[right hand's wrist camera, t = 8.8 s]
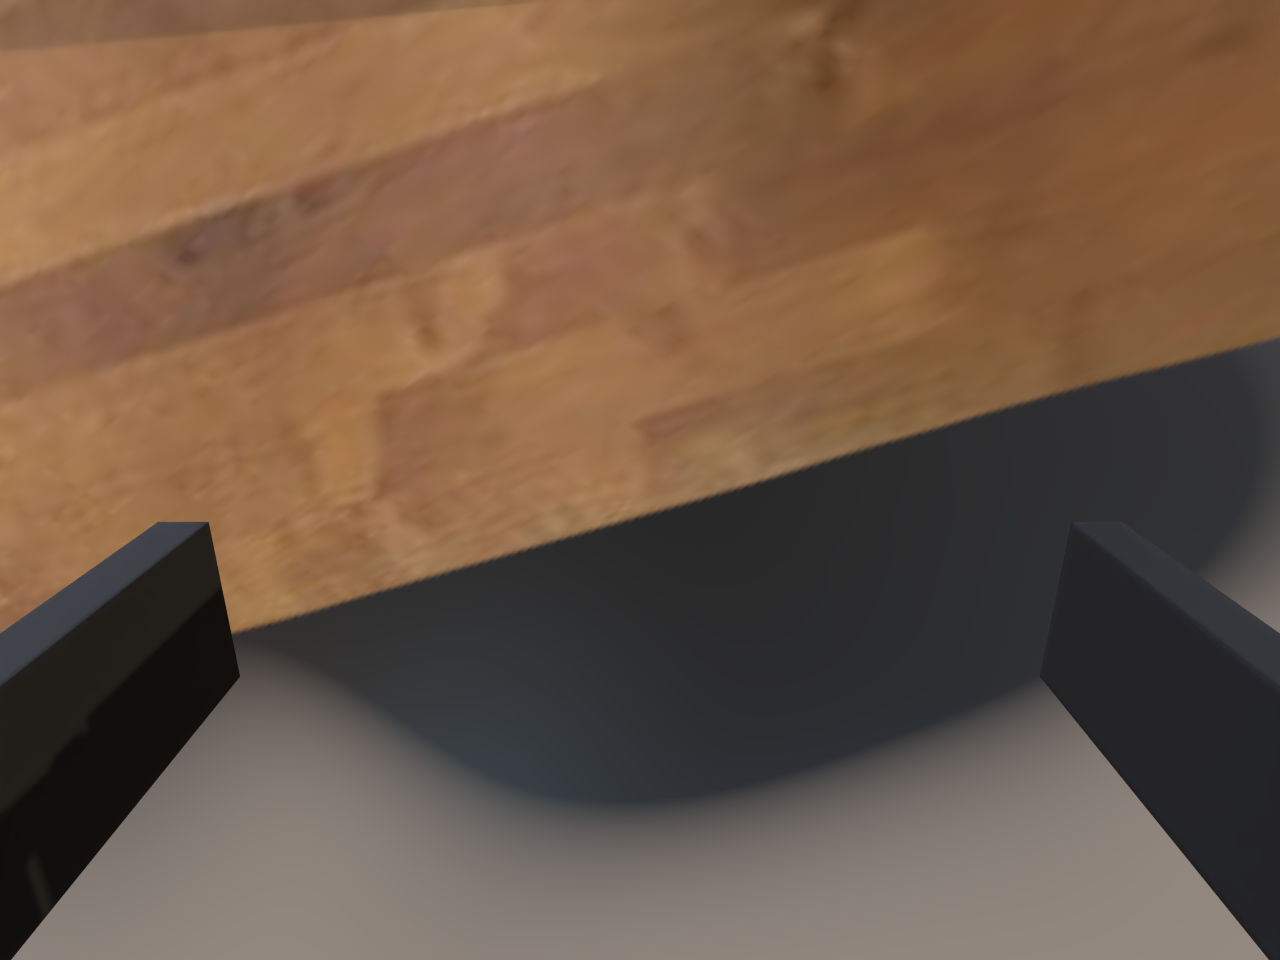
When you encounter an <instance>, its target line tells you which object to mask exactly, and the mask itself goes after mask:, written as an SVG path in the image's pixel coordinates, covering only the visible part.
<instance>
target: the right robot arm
mask: <svg viewBox="0 0 1280 960" xmlns="http://www.w3.org/2000/svg"><path fill="white" fill-rule="evenodd" d="M239 677H240V674H239V669H238V664H237V659H236V654H235V649H234V645H233V640H232V635H231V630H230V625H229V620H228V615H227V610H226V605H225V600H224V595H223V591H222V586H221V581H220V576H219V571H218V566H217V561H216V556H215V551H214V546H213V541H212V537H211V532H210V527H209V522H158V523H156V524H155V525H153V526H152V527H151V528H149V529H148V530H146V531H145V532H143V533H142V534H141V535H139V536H138V537H136V538H135V539H134V540H132V541H131V542H129V543H128V544H126V545H125V546H124V547H122V548H121V549H119V550H118V551H117V552H115V553H114V554H112V555H111V556H109V557H108V558H107V559H105V560H104V561H102V562H101V563H100V564H98V565H97V566H95V567H94V568H92V569H91V570H90V571H88V572H87V573H85V574H84V575H83V576H81V577H80V578H78V579H77V580H75V581H74V582H73V583H71V584H70V585H68V586H67V587H66V588H64V589H63V590H61V591H60V592H58V593H57V594H56V595H54V596H53V597H51V598H50V599H49V600H47V601H46V602H44V603H43V604H41V605H40V606H39V607H37V608H36V609H34V610H33V611H32V612H30V613H29V614H27V615H26V616H24V617H23V618H22V619H20V620H19V621H17V622H16V623H15V624H13V625H12V626H10V627H9V628H7V629H6V630H5V631H3V632H2V633H0V960H11V959H12V958H13V957H14V955H15V954H16V953H17V952H18V950H19V949H20V948H21V947H22V945H23V944H24V943H25V942H26V940H27V939H28V938H29V937H30V936H31V934H32V933H33V932H34V931H35V929H36V928H37V927H38V926H39V924H40V923H41V922H42V921H43V919H44V918H45V917H46V916H47V915H48V913H49V912H50V911H51V910H52V908H53V907H54V906H55V905H56V903H57V902H58V901H59V900H60V898H61V897H62V896H63V895H64V894H65V892H66V891H67V890H68V889H69V887H70V886H71V885H72V884H73V882H74V881H75V880H76V879H77V877H78V876H79V875H80V874H81V873H82V871H83V870H84V869H85V868H86V866H87V865H88V864H89V863H90V861H91V860H92V859H93V858H94V856H95V855H96V854H97V853H98V852H99V850H100V849H101V848H102V847H103V845H104V844H105V843H106V842H107V840H108V839H109V838H110V837H111V835H112V834H113V833H114V832H115V831H116V829H117V828H118V827H119V825H120V824H121V823H122V822H123V821H124V819H125V818H126V817H127V816H128V814H129V813H130V812H131V811H132V809H133V808H134V807H135V806H136V805H137V803H138V802H139V801H140V800H141V798H142V797H143V796H144V795H145V793H146V792H147V791H148V790H149V788H150V787H151V786H152V785H153V784H154V782H155V781H156V780H157V779H158V777H159V776H160V775H161V774H162V772H163V771H164V770H165V769H166V767H167V766H168V765H169V764H170V762H171V761H172V760H173V759H174V758H175V756H176V755H177V754H178V753H179V751H180V750H181V749H182V748H183V746H184V745H185V744H186V743H187V741H188V740H189V739H190V738H191V737H192V735H193V734H194V733H195V732H196V730H197V729H198V728H199V727H200V725H201V724H202V723H203V722H204V720H205V719H206V718H207V717H208V716H209V714H210V713H211V712H212V711H213V709H214V708H215V707H216V706H217V704H218V703H219V702H220V701H221V699H222V698H223V697H224V696H225V694H226V693H227V692H228V691H229V689H230V688H231V687H232V686H233V685H234V683H235V682H236V681H237V680H238V678H239ZM1040 677H1041V678H1042V680H1043V681H1044V682H1045V683H1046V685H1047V686H1048V687H1049V688H1050V690H1051V691H1052V692H1053V693H1054V694H1055V696H1056V697H1057V698H1058V699H1059V701H1060V702H1061V703H1062V704H1063V706H1064V707H1065V708H1066V709H1067V711H1068V712H1069V713H1070V714H1071V715H1072V717H1073V718H1074V719H1075V720H1076V722H1077V723H1078V724H1079V725H1080V727H1081V728H1082V729H1083V730H1084V732H1085V733H1086V734H1087V735H1088V737H1089V738H1090V739H1091V740H1092V741H1093V743H1094V744H1095V745H1096V746H1097V748H1098V749H1099V750H1100V751H1101V753H1102V754H1103V755H1104V756H1105V757H1106V759H1107V760H1108V761H1109V762H1110V764H1111V765H1112V766H1113V767H1114V769H1115V770H1116V771H1117V772H1118V774H1119V775H1120V776H1121V777H1122V779H1123V780H1124V781H1125V782H1126V784H1127V785H1128V786H1129V787H1130V788H1131V790H1132V791H1133V792H1134V793H1135V795H1136V796H1137V797H1138V798H1139V800H1140V801H1141V802H1142V803H1143V805H1144V806H1145V807H1146V808H1147V809H1148V811H1149V812H1150V813H1151V814H1152V816H1153V817H1154V818H1155V819H1156V821H1157V822H1158V823H1159V824H1160V826H1161V827H1162V828H1163V829H1164V831H1165V832H1166V833H1167V834H1168V835H1169V837H1170V838H1171V839H1172V840H1173V842H1174V843H1175V844H1176V845H1177V847H1178V848H1179V849H1180V850H1181V852H1182V853H1183V854H1184V855H1185V856H1186V858H1187V859H1188V860H1189V861H1190V863H1191V864H1192V865H1193V866H1194V868H1195V869H1196V870H1197V871H1198V873H1199V874H1200V875H1201V876H1202V878H1203V879H1204V880H1205V881H1206V882H1207V884H1208V885H1209V886H1210V887H1211V889H1212V890H1213V891H1214V892H1215V894H1216V895H1217V896H1218V897H1219V898H1220V900H1221V901H1222V902H1223V903H1224V905H1225V906H1226V907H1227V908H1228V910H1229V911H1230V912H1231V913H1232V915H1233V916H1234V917H1235V918H1236V920H1237V921H1238V922H1239V923H1240V924H1241V926H1242V927H1243V928H1244V929H1245V931H1246V932H1247V933H1248V934H1249V936H1250V937H1251V938H1252V939H1253V941H1254V942H1255V943H1256V944H1257V945H1258V947H1259V948H1260V949H1261V950H1262V952H1263V953H1264V954H1265V955H1266V957H1267V958H1268V959H1269V960H1280V633H1278V632H1277V631H1275V630H1274V629H1273V628H1271V627H1270V626H1268V625H1267V624H1265V623H1264V622H1263V621H1261V620H1260V619H1258V618H1257V617H1256V616H1254V615H1253V614H1251V613H1250V612H1248V611H1247V610H1246V609H1244V608H1243V607H1241V606H1240V605H1239V604H1237V603H1236V602H1234V601H1233V600H1231V599H1230V598H1229V597H1227V596H1226V595H1224V594H1223V593H1222V592H1220V591H1219V590H1217V589H1216V588H1214V587H1213V586H1212V585H1210V584H1209V583H1207V582H1206V581H1205V580H1203V579H1202V578H1200V577H1199V576H1197V575H1196V574H1195V573H1193V572H1192V571H1190V570H1189V569H1187V568H1186V567H1185V566H1183V565H1182V564H1180V563H1179V562H1178V561H1176V560H1175V559H1173V558H1172V557H1170V556H1169V555H1168V554H1166V553H1165V552H1163V551H1162V550H1161V549H1159V548H1158V547H1156V546H1155V545H1154V544H1152V543H1151V542H1149V541H1148V540H1146V539H1145V538H1144V537H1142V536H1141V535H1139V534H1138V533H1137V532H1135V531H1134V530H1132V529H1131V528H1129V527H1128V526H1127V525H1125V524H1124V523H1122V522H1071V527H1070V532H1069V537H1068V542H1067V546H1066V551H1065V556H1064V561H1063V566H1062V571H1061V576H1060V581H1059V586H1058V591H1057V595H1056V600H1055V606H1054V610H1053V615H1052V620H1051V625H1050V630H1049V635H1048V640H1047V645H1046V650H1045V654H1044V659H1043V664H1042V669H1041V674H1040Z"/></svg>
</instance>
